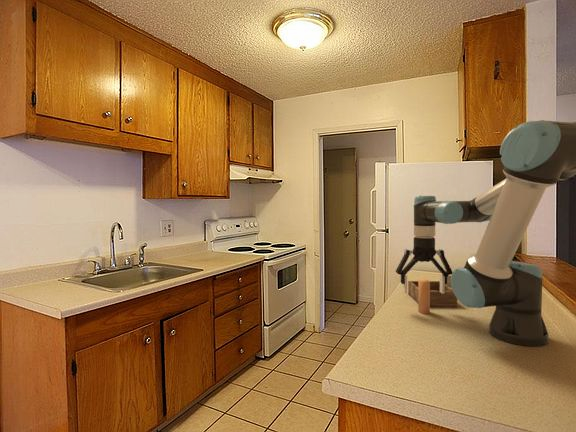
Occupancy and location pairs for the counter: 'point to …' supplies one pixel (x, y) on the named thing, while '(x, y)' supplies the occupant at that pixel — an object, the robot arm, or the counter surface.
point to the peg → (424, 297)
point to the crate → (434, 294)
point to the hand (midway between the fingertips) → (423, 292)
